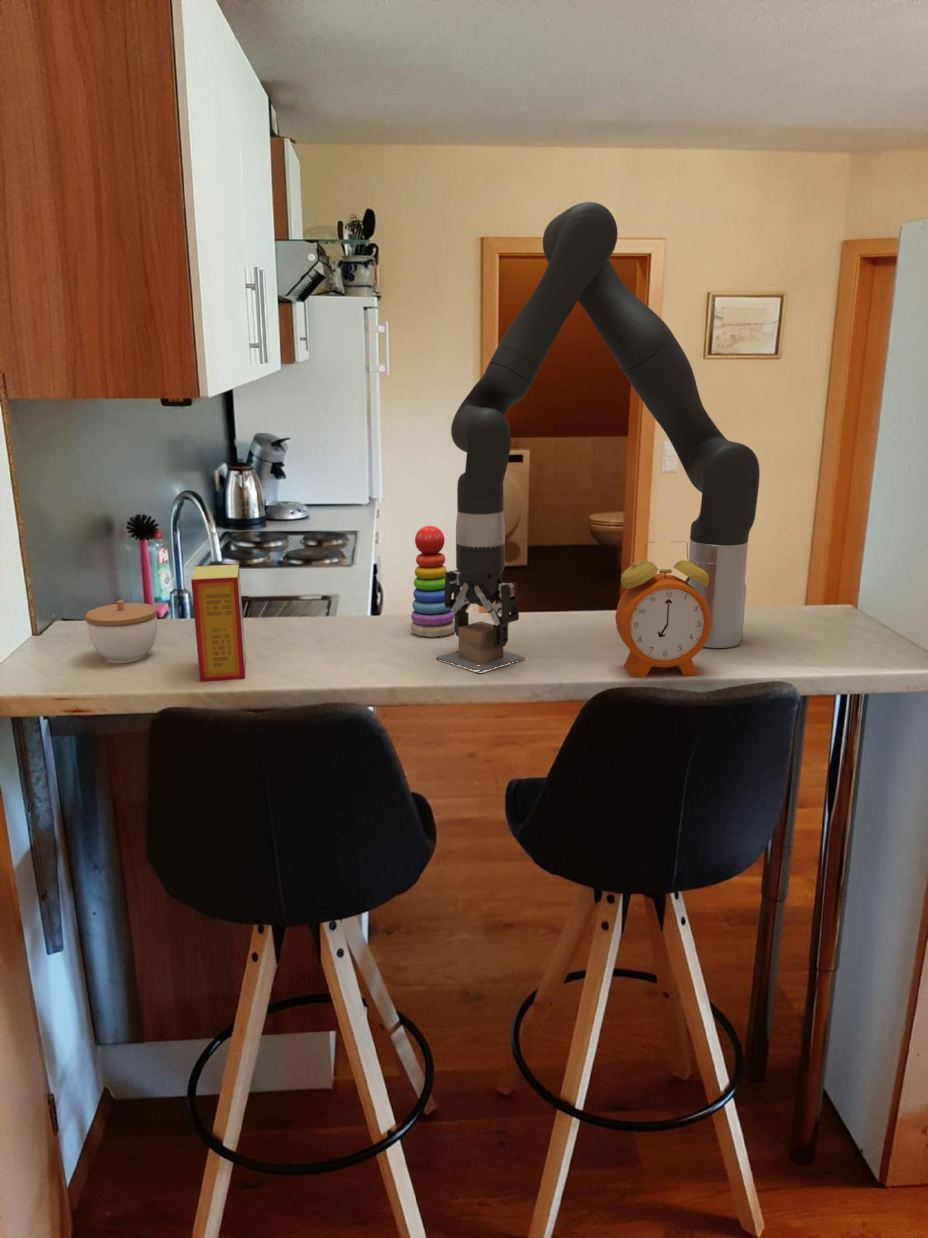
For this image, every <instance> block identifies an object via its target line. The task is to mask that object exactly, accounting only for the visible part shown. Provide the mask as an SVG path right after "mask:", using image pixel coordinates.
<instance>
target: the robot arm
mask: <svg viewBox="0 0 928 1238" xmlns="http://www.w3.org/2000/svg"><path fill="white" fill-rule="evenodd" d="M618 235H619V233H618V225H617V222H616V219H615V217H614V215H613V213H611V211H610V210H609V208H607V207H606V206H604V205H603V204H600V203H598V202H594V201H593V202H592V201H586V202H585V201H584V202H581V203H578V204H575V205H573V206H571V207H569V208H567V209H566V210H564V211H563V212H562V213H560V214H558V215H557V216H555V217H554V218H553V219H552V220H550V222H549V223H548V225H547V226H546V227H545V230H544V233H543V236H542V248H543V249H542V250H543V254H544V257H545V259H546V261H547V263H548V265H547V267H546V269H545V271H544V273H543V274H542V277H541V278H540V281H539V282H538V284H537V286H536V288H535V289H534V291H533V292H532V293H531V295H530V297H529V298H528V300H527V301H526V302H525V304H524V306H523V307H522V308H521V310H520V311H519V312H518V314H517V316H515V318H514V320H513V321H512V322H511V324H510V325H509V327H508V328H507V330H506V331H505V333H504V335H503V336H502V338H501V340H500V342H499V343H498V345H497V347H496V349H495V351H494V353H493V355H492V356H491V359H490V361H489V363H488V365H487V367H486V369H485V371H484V373H483V375H482V376H481V378H480V379H479V380H478V381H477V383H475V385H474V386H473V387H472V389H471V390H470V391H469V393H468V395H466V397H465V398H464V400H463V401H462V403H461V404H459V407H458V409H457V410H456V412H455V415H454V416H453V419H452V422H451V428H450V434H451V435H450V436H451V439H452V441H453V443H454V445H455V446H456V447H457V448H458V449H459V450H461V451H462V452H465V453H466V460H465V470H464V472H463V473H461V474H460V475H459V477H458V480H457V488H456V490H457V491H456V492H457V496H456V498H457V501H456V503H457V504H456V507H457V510H456V511H457V513H456V514H457V515H456V523H455V566H456V567H455V568H456V569H454V570H450V571H447V572H446V573H445V598H444V605H445V607H446V608H451V610H452V612H453V613H454V619H453V620H454V622H455V630H454V632H455V635H456V637H458V627H461V626H465V625H469V624H470V623H469V621H470V620H469V612H468V610H469V609H470V607H471V605H475V604H476V605H477V606H479V607H483V608H484V610H485V612H486V613H488V614H489V616H490V617H491V620H492V621H493V646H494V647H496V648H501V647H503V648H504V647H506V646H507V644H508V641H509V624H510V623H512V622H513V623H514V622H516V621H518V620H519V619H520V617H519V616H520V615H519V614H520V611H519V588H518V587H519V586H518V583H517V582H514V581H513V582H510V583H509V582H507V583H506V582H503V579H502V573H503V572H504V570H505V568H506V567H505V566H506V564H505V563H506V561H505V560H506V559H505V557H506V555H505V554H506V524H505V516H504V515H505V513H504V480H505V475H506V474H507V473H506V472H507V469H508V464H509V463H508V462H509V459H510V451H511V446H512V433H511V427H510V423H509V421H508V419H507V417H506V416H505V415H506V413H507V412H508V411H509V409H510V408H511V407H512V406H513V405H515V404H517V403H518V402H520V401H522V400H523V399H524V398H525V396H526V395H527V393H528V392H529V390H530V388H531V387H532V384H533V382H534V380H535V378H536V377H537V375H538V373H539V371H540V369H541V368H542V365H543V363H544V361H545V359H546V357H547V355H548V353H549V351H550V350H551V347H552V346H553V344H554V343H555V341H556V338H557V336H558V335H559V334H560V331H561V329H562V327H563V326H564V324H565V322H567V319H568V317H569V316H570V314H571V313H572V311H573V310H574V307H575V306H576V304H577V303H579V305H580V306H581V307H582V308H583V310H584V312H585V313H586V314H587V315H588V317H589V319H590V320H591V323H593V326H594V327H595V328H596V329H595V330H596V331H597V332H598V333H599V336H600V337H601V339H602V340H603V342H604V343H605V345H606V347H607V348H608V350H609V351H610V353H611V354H612V356H613V358H614V360H615V361H616V363H617V364H618V367H619V368H620V370H621V371H622V373H623V374H624V376H625V377H626V379H627V381H628V382H629V383H630V385H631V386H632V389H634V392H636V394H637V395H638V396H639V398H640V399H641V401H642V402H643V404H644V405H645V407H646V409H647V410H648V412H650V414H651V416H652V417H653V418H654V420H655V421H656V422H657V423H658V425H660V427H661V429H662V430H663V431H664V433H665V434H666V436H667V437H668V440H669V442H670V443H671V446H672V447H673V449H674V451H675V454H676V455H677V457H678V460H679V462H680V463H681V465H682V467H683V470H684V471H685V473H686V476H687V477H688V480H689V481H690V483H691V484H692V486H693V487H694V488H695V489H696V491H697V490H698V491H699V492H700V493H701V501H700V502H701V503H700V510H699V515H698V516H697V519H694V520H693V522H691V525H690V533H689V547H688V561H689V560H690V561H689V562H691V563H692V562H693V563H692V564H694V563H695V564H694V565H696V563H697V562H700V565H699V566H698V567H699V568H701V569H702V570H704V571H705V572H706V573H707V574H708V576H709V582H708V585H707V587H706V586H704V585H702V584H700V583H698V582H696V581H695V580H693V579H690V580H689V582H688V584H689V585H691V586H692V587H693V588H694V589H696V590H697V591H698V592H699V593H700V594H701V595H702V596H703V598H704V599H705V600H706V603H707V605H708V607H709V609H710V614H711V628H710V633H709V637H708V639H707V641H706V642H705V644H704V646H703V648H710V649H724V648H726V649H727V648H733V647H736V646H739V644H740V643H741V640H742V639H743V634H744V633H743V632H744V622H745V608H746V607H745V606H746V595H747V584H746V574H747V560H748V559H747V557H748V549H749V548H748V547H749V545H748V544H749V534H750V531H751V529H752V527H753V525H754V522H755V519H756V512H757V503H758V495H759V486H760V475H761V474H760V473H761V472H760V464H759V463H760V462H759V460H758V457H757V455H756V453H755V452H754V451H753V449H751V448H750V447H749V446H747V445H745V444H743V443H740V442H736V441H731V440H728V439H727V437H726V436H724V434H722V431H720V429H719V428H718V427H717V425H716V424H715V422H714V421H713V420H712V418H711V417H710V415H709V414H708V412H707V411H706V409H705V407H704V405H703V401H702V400H701V396H700V392H699V389H698V385H697V381H696V378H695V374H694V371H693V368H692V365H691V362H690V360H689V359H688V357H687V354H686V353H685V351H684V350H683V348H682V346H681V345H680V343H679V341H678V340H677V338H676V337H675V334H673V332H672V330H671V328H670V327H669V326H668V325H667V323H666V322H665V321H664V320H663V319H662V318H661V317H660V316H659V315H658V314H657V313H656V312H655V311H653V310H652V309H651V308H650V307H649V306H648V305H647V304H646V303H644V302H643V301H642V300H641V299H640V298H639V297H637V295H635V294H634V293H633V292H632V291H631V290H630V289H629V288H628V287H627V286H626V285H625V284H624V282H623V281H622V279H621V278H620V276H619V275H618V272H616V270H615V268H614V266H613V265H612V262H611V261H610V260H609V258H610V257H611V256H612V254H613V253H614V252H615V249H616V245H617V243H618ZM452 596H453V597H452ZM495 602H496V604H495Z"/></svg>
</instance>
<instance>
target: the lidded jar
mask: <svg viewBox="0 0 928 1238" xmlns="http://www.w3.org/2000/svg"><path fill="white" fill-rule="evenodd" d="M157 615H158V610H157V608H156V606H154V605H153V604H148V603H141V602H140V603H139V602H124V600H117V601H116V603H114V604H106V605H103V606H99V607H95V608H93V609H90V610H88V611H87V612H86V613H85V615H84V616H85V621H86V626H87V631H88V635H89V640H90V642H91V644H92V646H93V648H94V649H95V651H96V652H97V654H99V655H101V656H102V657H103V658H105V660H106V661H107V662H109V663H111V664H126V663H134V662H138V661H140V660H143V659H145V657H147V654H148V652H149V651H151V649H152V648H153V646H154V645H155V642H156V640H157V635H158V634H157V633H158V617H157Z"/></svg>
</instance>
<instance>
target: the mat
mask: <svg viewBox="0 0 928 1238" xmlns="http://www.w3.org/2000/svg"><path fill="white" fill-rule="evenodd" d="M435 657H436V658H435V660H436V659H440V660H442V661H446V662H449V663H453V664H455V665H460V666H462V667H466V668H468V669H472V670H480V671H478V672H482V671H484V670H489V669H493V668H495V667H499V666H501V665H505V664H508V663H512V662H516V661H520V662H522V661H521V660H523V659H525V660H526V657H524V656H521V655H518V654H516V653H512V652H508V651H505V650H503V658H500V659H497V660H494V661H491V662H488V663H484V664H481V665H480V664H477V663H474V662H471V661H468V660H465V659H462V658H459V650H457V651H453V652H450V653H446V654H442V655H439V656H435ZM442 661H441V662H442ZM523 661H524V660H523ZM477 665H480V666H477Z"/></svg>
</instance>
